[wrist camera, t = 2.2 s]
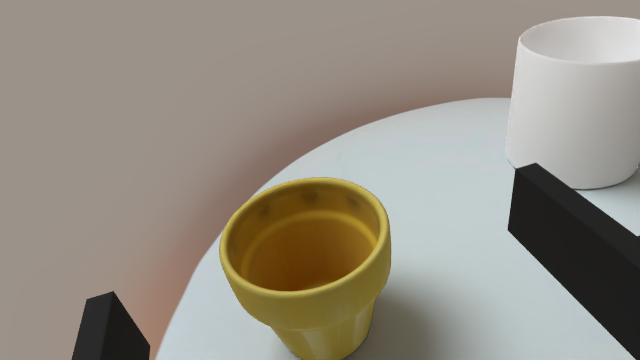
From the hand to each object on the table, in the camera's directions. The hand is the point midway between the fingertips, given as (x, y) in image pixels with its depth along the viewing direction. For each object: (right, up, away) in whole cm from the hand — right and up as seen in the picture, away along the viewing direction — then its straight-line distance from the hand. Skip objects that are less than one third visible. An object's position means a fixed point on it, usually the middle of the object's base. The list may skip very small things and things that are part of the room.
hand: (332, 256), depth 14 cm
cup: (+25, +5, +29) cm, 39 cm away
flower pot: (0, -8, +18) cm, 19 cm away
